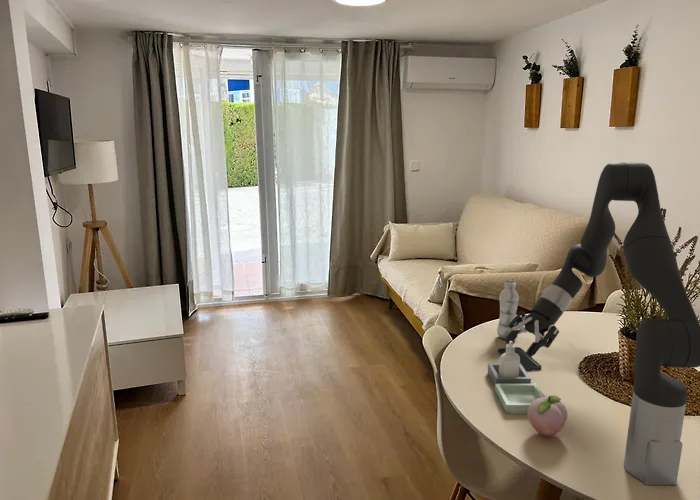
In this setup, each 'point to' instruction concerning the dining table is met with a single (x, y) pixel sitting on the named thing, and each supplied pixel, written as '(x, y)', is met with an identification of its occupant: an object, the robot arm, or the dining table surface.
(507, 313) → the plastic bottle
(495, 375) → the grey square tray
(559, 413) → the decorative fruit
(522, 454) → the dining table surface
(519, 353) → the phone
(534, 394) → the tray
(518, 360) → the eye dropper bottle
